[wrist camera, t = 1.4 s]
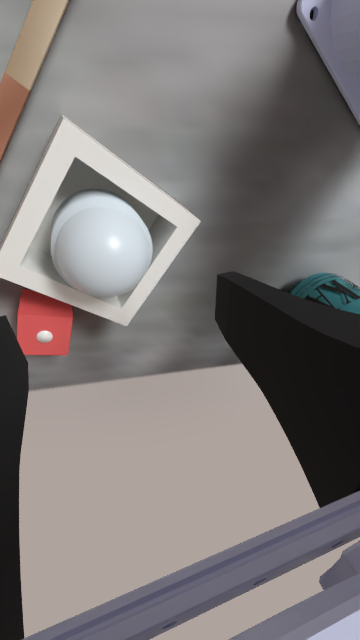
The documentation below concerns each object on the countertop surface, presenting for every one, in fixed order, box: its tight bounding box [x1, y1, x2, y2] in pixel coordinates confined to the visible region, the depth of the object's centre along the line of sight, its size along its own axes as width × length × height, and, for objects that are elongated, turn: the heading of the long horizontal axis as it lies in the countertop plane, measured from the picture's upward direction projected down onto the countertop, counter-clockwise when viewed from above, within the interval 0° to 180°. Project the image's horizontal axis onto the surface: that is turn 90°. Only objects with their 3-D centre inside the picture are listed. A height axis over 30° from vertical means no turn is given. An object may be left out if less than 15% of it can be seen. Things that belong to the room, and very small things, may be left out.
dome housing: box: [0, 115, 201, 326], centre depth 17 cm, size 8×8×4 cm
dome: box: [51, 189, 153, 298], centre depth 15 cm, size 5×5×5 cm
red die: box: [17, 289, 73, 355], centre depth 19 cm, size 3×3×3 cm
